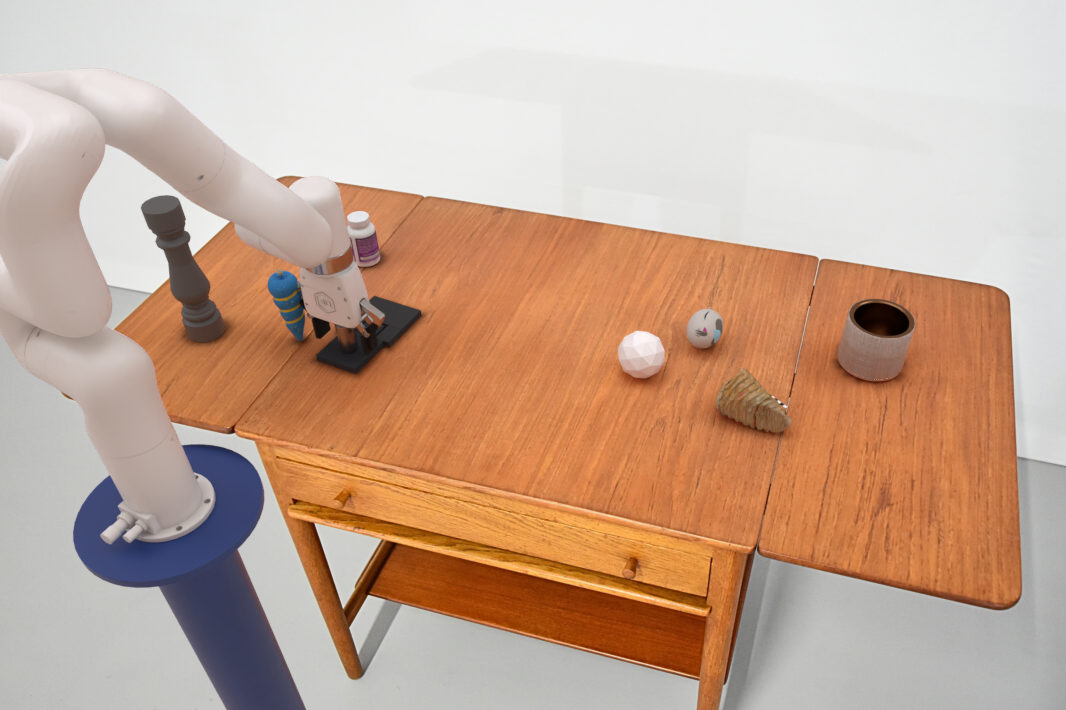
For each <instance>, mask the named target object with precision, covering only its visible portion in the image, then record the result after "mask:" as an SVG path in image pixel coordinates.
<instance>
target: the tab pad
mask: <svg viewBox="0 0 1066 710" xmlns="http://www.w3.org/2000/svg"><path fill="white" fill-rule="evenodd" d="M363 325H364V326H365V327H366V328H367V327H368V326H369V324H368V323H367V322H365V323H364V324H363ZM334 327H335V331H336V336H334V338H333V339H331V341H329V343H327V344H326V345H325V346H324V347H323V348H322V349H321V350H320V351H319V352H317V353H316V354H315V358H316V361H317V362H320V363H323V364H325V365H328V366H331V367H334V368H337V369H340V370H343V371H346V372H348V373H352V374H355V375H357V374H358V373H359V372H361V370H363V368H364V367H365V366H366V365H367V364H368V363H370V361H372V359H374V357H375V356H376V355H377V354H379V352H381V350H383V348H384V347H385V346H384V342H383V341H381V340H378V339H377V341H378V346H377V347H376V348H375V349H374V350H373V351H372V352H371V353H370V354H369V355H368V356H367V355H364V353H363V348H362V343H361V339H360V337H361V335H362V333H361V332H360V331H359V330H357V331H355V328H347V327H343V326H340V325H337V324H334ZM384 329H385V326H384V325H382V326H381V327H380V328H379V329H378V330H376V335H377V336H378V335H379V334H380V333H381V332H382V331H383V330H384Z"/></svg>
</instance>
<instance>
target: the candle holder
mask: <svg viewBox="0 0 1066 710" xmlns="http://www.w3.org/2000/svg"><path fill="white" fill-rule="evenodd" d="M140 210H141V213H142V216H143V218H144V221H145V223H146V226H147V228H148V230H151V233H152V234H153V235H155V236H156V238H155V241H154V243H155V245H156V246H157V248H159V249H160V250H162V251H163V253H164V255H165V258H166V260H167V264H168V265H167V267H168V274H169V276H168V278H169V287H170V288H169V290H170V292H171V294H172V296H173V298H174V300H177V302H179V303H180V304H181V306H182V307H181V311H180V315H181V316H182V319H181V321H182V324H183V326H184V329H185V332H186V334H187V337H188V339H189V340H190V341H192V342H194V343H200V344H203V343H210V342H212V341H215V340H217V339H218V338H220V337H222V335H223V334H225V331H226V325H225V321H224V319H223V316H222V313H221V311H220V309H219V308H218V307H217V305H216V302H215V301H214V300H212V299H210V296H209V295H210V292H211V282H210V280H209V279H208V277H207V276H206V274H205V273H204V271H203V270H202V268H201V267H200V265H199V264H198V262H197V261H196V259H195V258H194V256H193V254H192V251H191V248H190V247H191V246H190V245H189V244H190V242H191V237H192V236H191V235H190V233H189V231H188V230H187V231H186V229H185V228H186V227H185V226H186V220H187V218H186V214H185V212H184V209H183V205H182V203H181V201H180V199H179V197H177V196H175V195H169V194H165V195H164V194H163V195H156V196H153V197H150V198H148V199H146V200H145V201H144V202H143V203H141V205H140Z"/></svg>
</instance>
